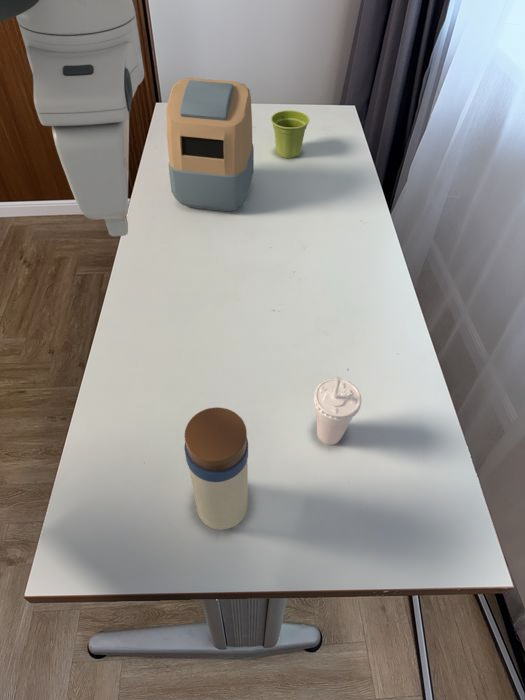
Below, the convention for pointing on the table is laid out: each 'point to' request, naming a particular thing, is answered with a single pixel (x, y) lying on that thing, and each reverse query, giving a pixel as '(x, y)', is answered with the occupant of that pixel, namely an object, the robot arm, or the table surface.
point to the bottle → (220, 493)
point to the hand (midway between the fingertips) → (120, 204)
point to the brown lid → (216, 439)
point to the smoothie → (335, 408)
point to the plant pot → (289, 132)
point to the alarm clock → (210, 143)
